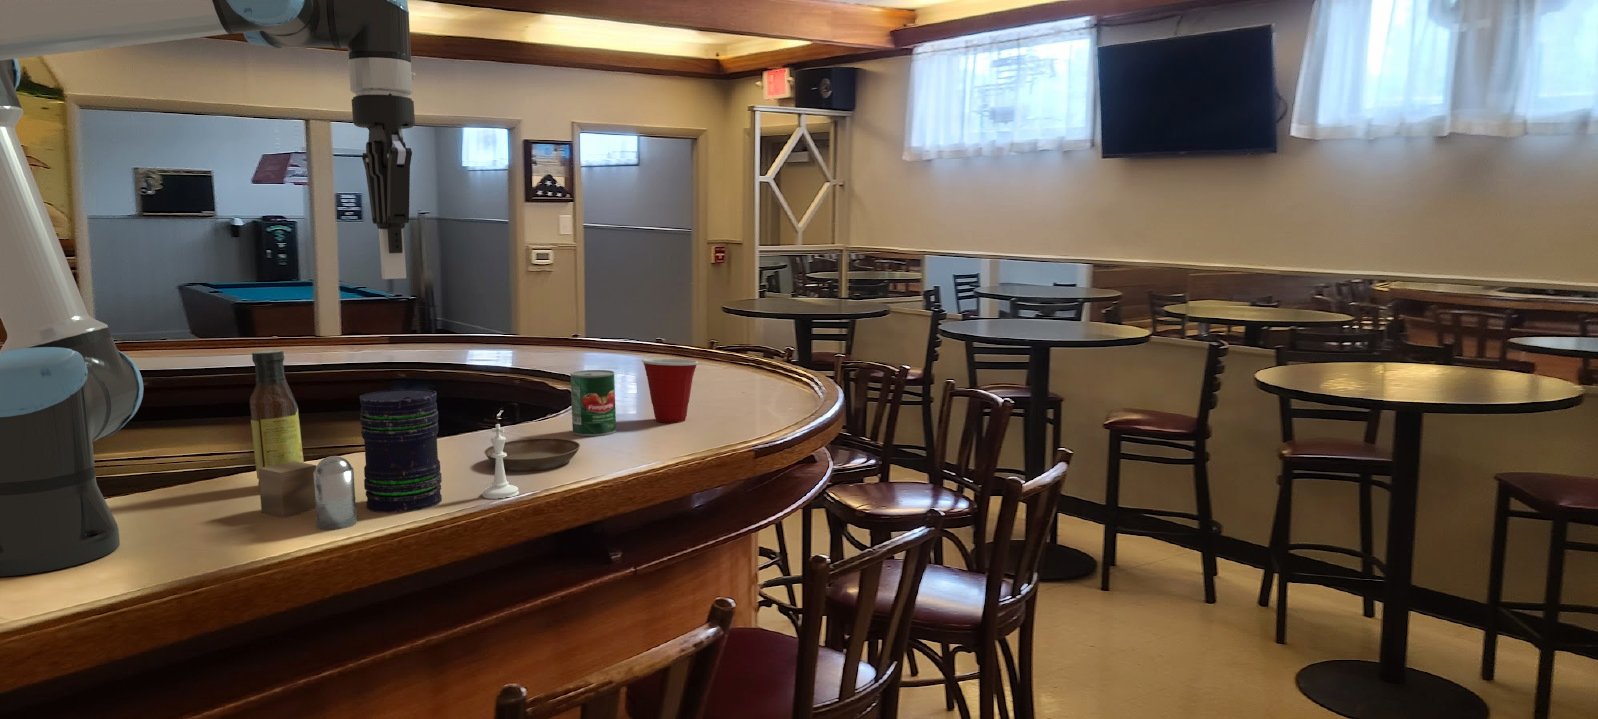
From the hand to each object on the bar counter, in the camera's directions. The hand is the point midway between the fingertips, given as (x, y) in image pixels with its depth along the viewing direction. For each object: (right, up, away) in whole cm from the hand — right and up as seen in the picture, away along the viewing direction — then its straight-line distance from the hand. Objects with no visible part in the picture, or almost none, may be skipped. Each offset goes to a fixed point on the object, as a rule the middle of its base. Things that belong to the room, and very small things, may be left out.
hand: (394, 278), depth 138 cm
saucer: (+11, -28, +28) cm, 41 cm away
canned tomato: (+16, -24, +52) cm, 60 cm away
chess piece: (+12, -30, +8) cm, 33 cm away
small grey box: (-14, -31, 0) cm, 34 cm away
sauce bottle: (-22, -29, +13) cm, 39 cm away
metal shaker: (-5, -32, -6) cm, 33 cm away
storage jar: (0, -31, +4) cm, 31 cm away
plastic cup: (+29, -23, +63) cm, 73 cm away
